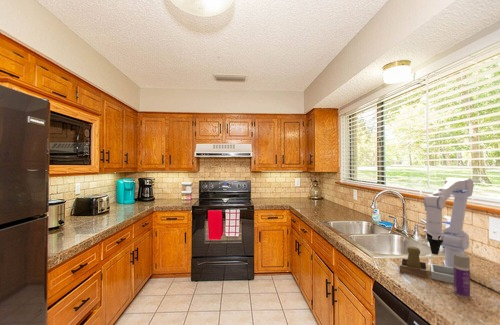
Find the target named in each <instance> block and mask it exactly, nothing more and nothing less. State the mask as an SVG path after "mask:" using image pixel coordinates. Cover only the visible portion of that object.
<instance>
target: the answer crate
mask: <svg viewBox="0 0 500 325" xmlns="http://www.w3.org/2000/svg"><path fill="white" fill-rule="evenodd" d="M429 264H430V265H429V267H430V268H429V269H430V270H429V272H430V276H431V277H430V278H431V279H433V280H435V281H440V282H445V283H446V282H447V283H450V284H454V268H452V267H447V266H445V265H440V264H435V263H429Z"/></svg>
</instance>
